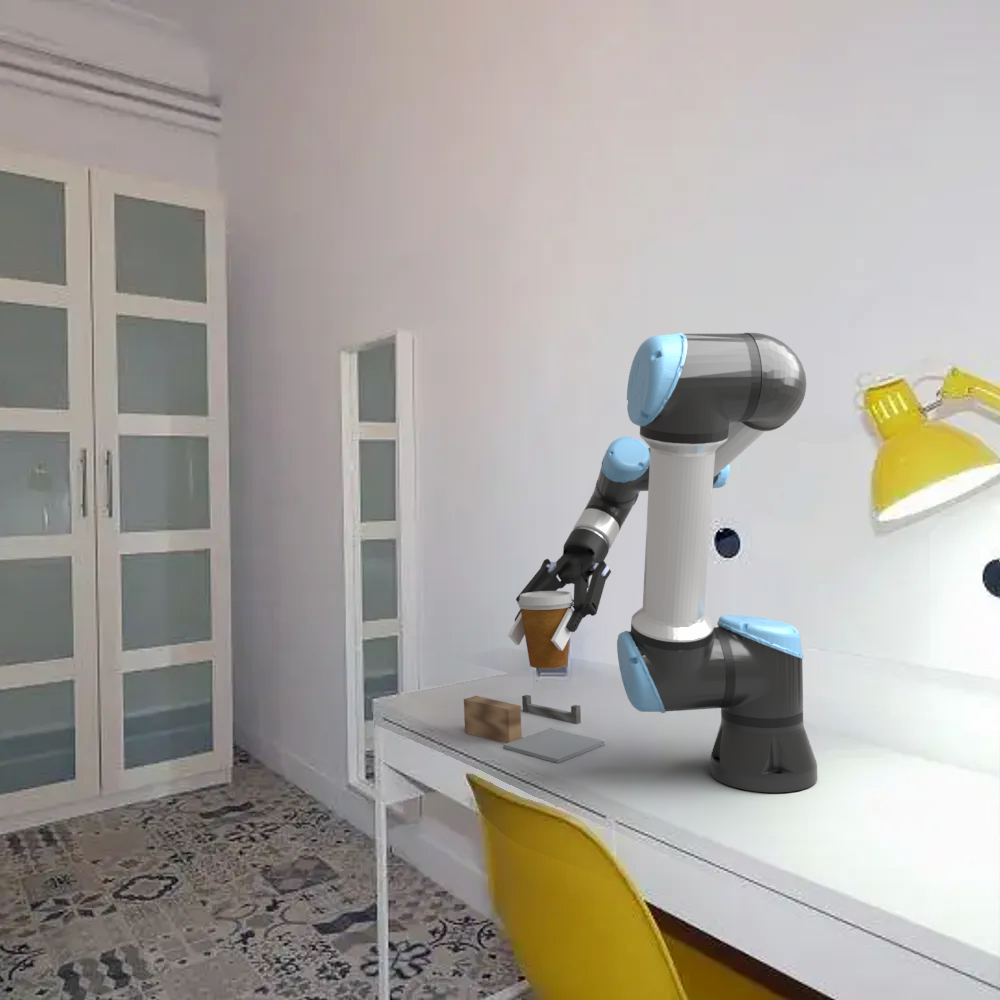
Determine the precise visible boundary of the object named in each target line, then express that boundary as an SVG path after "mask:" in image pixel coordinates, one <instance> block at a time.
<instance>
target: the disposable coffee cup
mask: <svg viewBox="0 0 1000 1000" xmlns="http://www.w3.org/2000/svg"><path fill="white" fill-rule="evenodd" d="M519 594H520V593H519ZM572 596H573V595H572V592H569V591H563V590H556V591H538V592H528V593H523V594H520V598H519V602H517V601H516V603H517V605H518V607H519V608H520V609H521V614H522V620H523V627H524V632H525V635H524V637H525V645H526V650H527V654H528V661H529V667H531V668H533V669H534V668H535V669H558V668H562V667H563V668H564V667H566V666H567V665H568V657H569V647H570V646H569V643H570V639H569V640H568V642H567V643H566V645H565V647H564V649H563V651H561V650H559V649H558V648H557V647H556V646H555V644H554V643H553V642H552V641H551V640H552V638H553V636H554V634H555V632H556V630H557V628H558V627H559V625H560V623H561V621H562V619H563V617H564V615H565V613H566V612H567V610H568V608H570V609H572V606H571V604H572V605H573V604H574V598H573V597H572ZM520 609H519V610H520Z"/></svg>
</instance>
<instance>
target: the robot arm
mask: <svg viewBox="0 0 1000 1000" xmlns="http://www.w3.org/2000/svg"><path fill="white" fill-rule="evenodd" d="M806 391H807V376H806V372H805V369H804V366H803V364H802V361H801V360H800V359H799V357H798V354H796V353H795V352H794V351H793V349H792V348H790V347H789V345H787V344H786V343H785V342H783V341H782V340H780V339H778V338H776V337H774V336H771V335H769V334H768V335H767V334H764V333H758V332H744V333H682V332H679V333H678V332H676V333H672V334H671V333H670V334H660V335H653V336H649V337H648V338H647V339H645V340H644V341H643V342H642V343H640V345H639V347H638V349H637V351H636V352H635V355H634V357H633V360H632V363H631V367H630V371H629V375H628V380H627V389H626V401H627V407H626V408H627V413H628V417H629V420H630V422H631V423H632V424H634V425H636V426H639V437H640V438H641V439H642V440H643V441H644V442H645V443H644V442H643V441H642V440H640V439H636V438H634V437H632V436H622V437H619V438H617V439H615V440H613V441H612V442H611V443H610V444H609V445H608V448H607V450H606V451H605V453H604V456H603V458H602V461H601V466H600V470H599V474H598V478H597V480H596V483H595V486H594V490H593V492H592V495H591V496H590V497H589V498H590V499H589V501H588V502H587V504H586V506H585V508H584V509H583V511H582V513H581V514H580V516H579V517H578V519H577V521H576V523H575V525H574V526H573V528H572V530H571V532H570V534H569V535H568V537H567V539H566V540H565V543H564V544H563V551H562V555H561V556H560V557H559V558H558V559H557V561H550V559H549V558H546V559H544V560H542V561H543V562H542V564H541V566H540V568H539V569H538V571H537V572H536V574H534V576H533V577H532V578H531V579H530V581H529V582H527V584H526V585H525V587H524V588H523V589H522V591H520V593H518V596H517V597H516V598H515V601H516V603H517V602H519V598H520V594H523V593H528V592H538V591H559V589H563V588H565V586H566V585H570V584H572V585H574V586H573V600H574V602H573V605H572V604H571V609H570V608H568V610H567V612H566V613H565V615H564V617H563V619H562V621H561V623H560V625H559V627H558V628H557V630H556V632H555V634H554V636H553V638H552V640H551V641H552V642H553V643H554V644H555V646H556V647H557V648H558V649H559V650H561V651H563V649H564V647H565V645H566V643H567V642H568V640H569V641H570V638H571V636H572V634H573V633H575V632H576V631H577V630H578V628H579V626H580V624H581V622H582V620H583V619H584V618H586V617H587V616H588V615H590V617H591V616H592V617H593V616H596V615H597V614H598V609H599V606H600V603H601V599H602V595H603V592H604V588H605V584H606V581H607V580H608V579H609V577H610V574H611V573H612V571H611V569H610V568H609V566H608V564H607V563H606V562H605V561H606V560H605V559H606V557H607V556H608V554H609V551H610V550H611V548H612V546H613V544H614V542H615V540H616V539H617V537H618V534H619V532H620V531H621V529H622V526H623V525H624V524H625V521H626V520H627V517H628V515H629V514H630V512H631V510H632V508H633V507H634V506H635V504H636V502H637V501H638V498H639V495H640V493H641V492H648V493H647V512H646V528H645V529H646V531H645V532H646V533H645V550H644V553H645V554H644V555H645V556H644V574H643V575H644V576H643V594H642V607H641V608H639V609H638V610H637V611H636V612H634V613H633V615H632V616H631V622H630V623H631V624H630V631H629V630H625V631H622V632H620V633H619V634H618V635H617V640H616V650H617V661H618V666H619V671H620V672H619V673H620V675H621V680H622V683H623V687H624V691H625V694H626V696H627V699H628V701H629V703H630V705H631V706H632V707H633V708H634V709H635V710H637V711H639V712H642V713H655V712H656V713H657V712H659V713H661V714H666V712H679V711H691V710H693V711H695V710H710V709H720V724H719V727H718V731H717V735H716V737H715V739H714V740H715V741H714V744H713V748H712V750H711V754H710V758H709V759H710V760H709V763H710V764H709V765H710V775H711V776H712V777H713V778H714V779H715V780H717V781H718V782H720V783H722V784H724V785H727V786H729V787H732V788H736V789H739V790H744V791H750V792H758V793H789V792H790V793H791V792H797V791H801V790H806V789H808V788H810V787H812V786H813V785H815V784H816V783H817V781H818V763H817V759H816V757H815V754H814V751H813V749H812V745H811V743H810V739H809V737H808V735H807V734H808V733H807V732H806V727H805V725H804V693H803V692H804V689H803V687H804V686H803V685H804V683H803V681H804V680H803V659H804V654H803V648H802V639H801V634H800V632H799V630H798V628H796V627H795V626H794V625H793V624H790V623H789V622H785V621H780V620H777V619H773V618H772V619H771V618H766V617H760V616H759V617H758V616H752V615H743V614H742V615H741V614H740V615H739V614H728V615H721V616H719V618H718V621H717V623H716V624H717V627H715V625H714V622H713V621H712V618H710V617H709V616H708V615H707V614H706V613H705V599H706V587H707V586H706V585H707V574H708V573H707V572H708V561H709V560H708V559H709V558H708V557H709V546H710V545H709V544H710V529H711V515H712V503H713V489H719V488H722V487H724V486H725V485H726V484H727V482H728V479H729V477H730V472H731V463H732V462H733V461H734V460H735V459H737V458H738V456H740V454H742V453H743V452H744V451H745V450H746V449H748V447H750V446H751V445H752V444H753V443H754V442H755V441H756V440H757V439H758V438H759V437H760V436H762V435H763V434H764V433H765V432H771V431H774V430H777V429H779V428H781V427H783V426H784V425H785V424H786V423H788V422H789V421H790V419H792V417H794V415H796V413H797V412H798V411H799V409H800V408H801V406H802V404H803V402H804V399H805V396H806ZM646 444H647V445H646ZM648 446H649V447H648ZM590 578H591V579H590ZM507 636H508V637H509V639H510V640H511V641H512V642H513V643H514V644H515V645H517V646H519V645H520V644H521V642H522V641H523V639H524V637H525V632H524V627H523V620H522V614H521V609H519V611H518V612H517V614H516V616H515V618H514V623H513V625H512V627H511V628H510V630H509V632H508V634H507Z"/></svg>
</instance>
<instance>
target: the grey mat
mask: <svg viewBox="0 0 1000 1000" xmlns="http://www.w3.org/2000/svg"><path fill="white" fill-rule="evenodd" d="M605 744H606V742H605V740H602V739H599V738H595V737H590V736H585V735H582V734H577V733H573V732H569V731H565V730H560V729H556V728H552V727H549V728H546V729H544V730H541V731H538V732H535V733H532V734H529V735H526V736H524V737H522V738H521V739H518V740H515V741H512V742H509V743H506V744H505V743H503V745H502V746H503V747H502V748H503V749H505V750H509V751H513V752H516V753H520V754H522V755H523V754H524V755H527V756H531V757H535V758H537V759H542V760H545V761H548V762H552V763H556V764H559V763H562V762H564V761H567V760H570V759H572V758H575V757H577V756H580V755H582V754H585V753H587V752H589V751H592V750H595V749H597V748H600V747H602V746H605Z"/></svg>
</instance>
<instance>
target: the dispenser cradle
mask: <svg viewBox="0 0 1000 1000" xmlns="http://www.w3.org/2000/svg"><path fill="white" fill-rule="evenodd" d="M521 702H522V706H521V705H519V704H514V703H510V702H505V701H500V700H497V699H493V698H488V697H484V696H479V695H474V696H470V697H467V698H463V713H464V714H463V715H464V719H463V720H464V733H465V734H468V735H473V736H476V737H479V738H483V739H488V740H491V741H494V742H499V743H502V744H506V743H509V742H512V741H515V740H518V739H521V738H523V737H522V715H521V713H522V712H523V713H529V714H534V715H538V716H542V717H547V718H550V719H556V720H559V721H564V722H568V723H573V724H577V725H578V724H580V723H582V722H581V721H582V720H581V719H582V717H581V716H582V715H581V705H577V704H575V705H574V704H573V705H571V706H570V711H567V710H563V709H559V708H553V707H548V706H543V705H540V704H534V703H532V696H531V695H530V694H524V695H522V696H521ZM521 707H522V711H521Z"/></svg>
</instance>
